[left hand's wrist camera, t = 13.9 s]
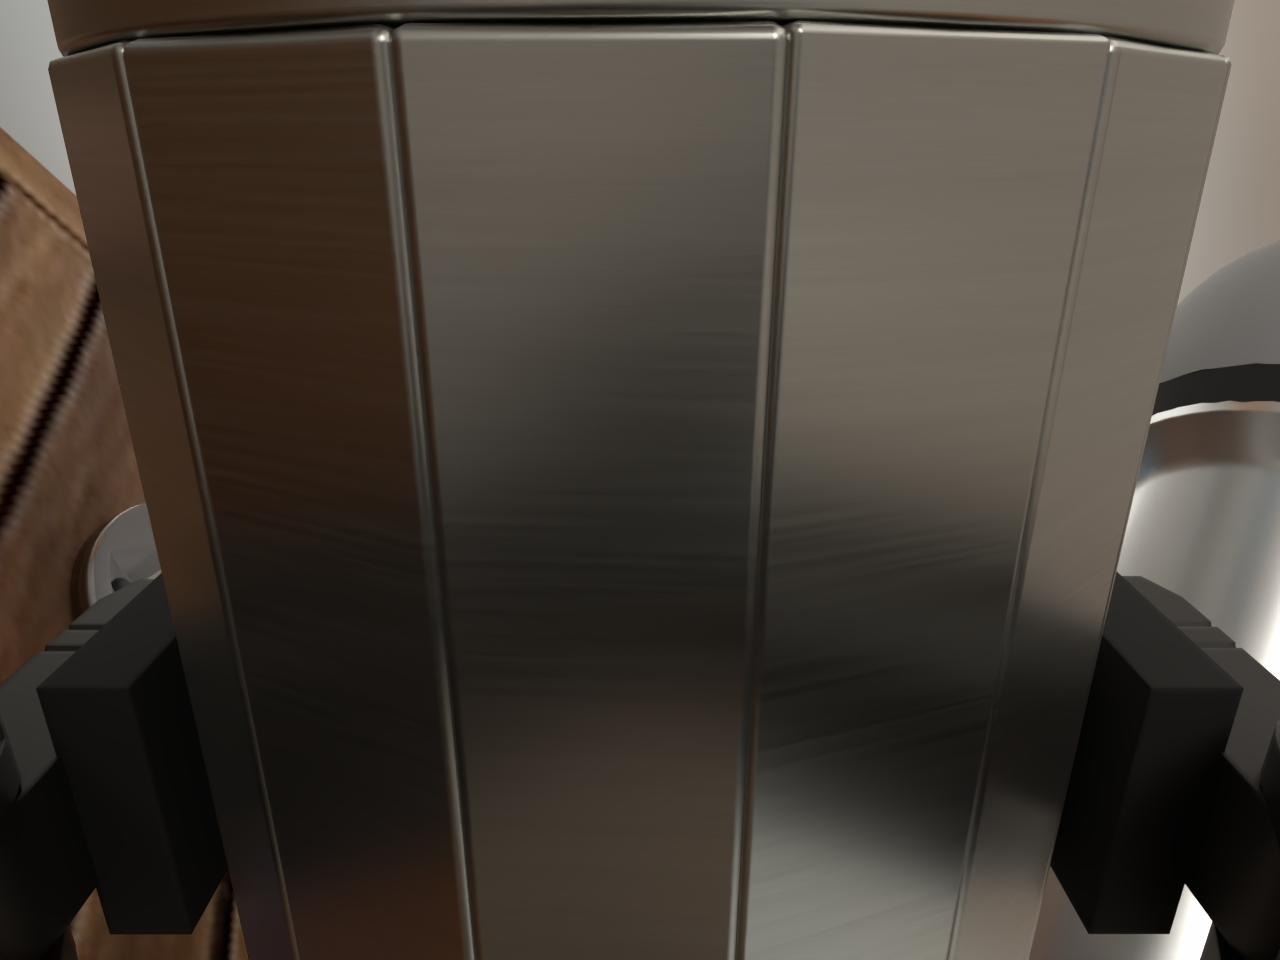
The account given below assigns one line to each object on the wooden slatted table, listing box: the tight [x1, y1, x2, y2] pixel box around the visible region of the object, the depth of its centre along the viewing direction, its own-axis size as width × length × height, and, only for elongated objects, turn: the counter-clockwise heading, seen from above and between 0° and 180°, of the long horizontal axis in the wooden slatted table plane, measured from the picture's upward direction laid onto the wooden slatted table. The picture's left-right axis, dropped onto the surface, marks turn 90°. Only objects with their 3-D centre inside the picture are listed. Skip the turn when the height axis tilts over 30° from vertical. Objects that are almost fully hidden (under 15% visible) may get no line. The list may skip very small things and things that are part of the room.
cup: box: [48, 0, 1234, 960], centre depth 9 cm, size 8×8×10 cm
